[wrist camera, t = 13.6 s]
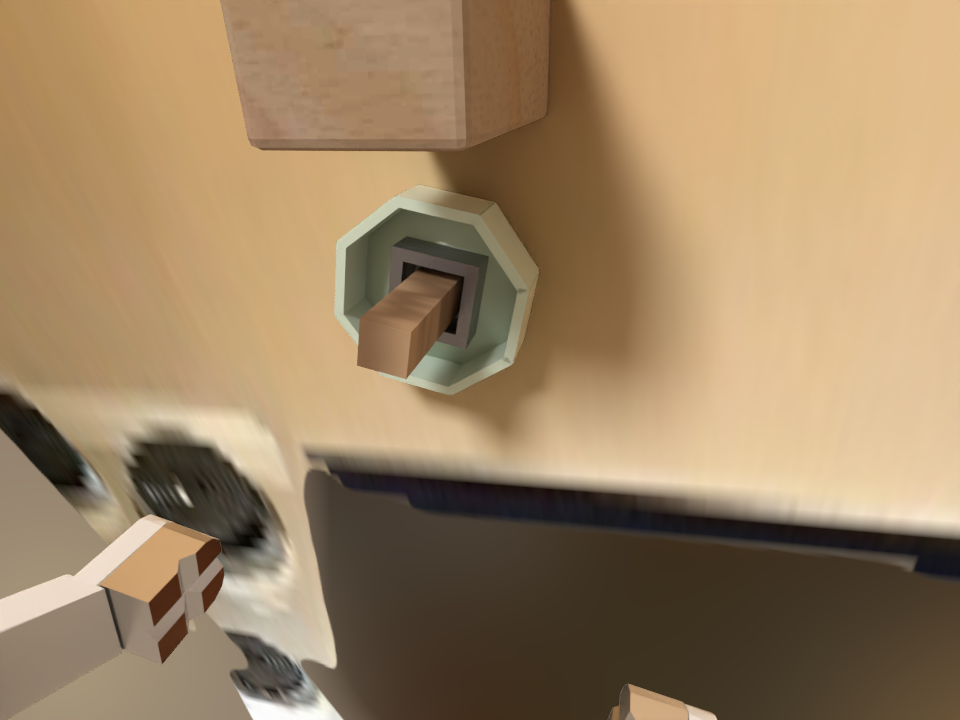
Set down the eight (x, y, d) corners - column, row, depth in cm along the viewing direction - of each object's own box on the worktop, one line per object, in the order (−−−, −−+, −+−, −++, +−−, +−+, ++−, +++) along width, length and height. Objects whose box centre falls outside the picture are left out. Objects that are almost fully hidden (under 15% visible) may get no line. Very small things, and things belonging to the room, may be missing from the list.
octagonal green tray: (552, 214, 41) (542, 229, 37) (514, 383, 48) (502, 410, 45) (366, 172, 43) (338, 182, 39) (357, 339, 51) (333, 361, 47)
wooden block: (548, 118, 38) (469, 153, 21) (414, 119, 41) (245, 151, 23) (553, -59, 34) (458, -199, 16) (402, -46, 36) (182, -156, 19)
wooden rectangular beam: (465, 272, 44) (411, 332, 34) (459, 311, 46) (406, 379, 36) (424, 262, 45) (359, 318, 35) (420, 301, 47) (357, 365, 36)
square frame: (489, 256, 43) (479, 267, 41) (475, 334, 47) (465, 348, 44) (406, 236, 44) (392, 245, 42) (399, 313, 48) (385, 327, 45)
